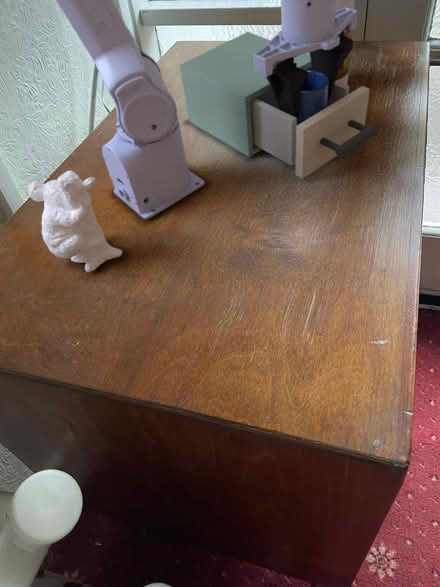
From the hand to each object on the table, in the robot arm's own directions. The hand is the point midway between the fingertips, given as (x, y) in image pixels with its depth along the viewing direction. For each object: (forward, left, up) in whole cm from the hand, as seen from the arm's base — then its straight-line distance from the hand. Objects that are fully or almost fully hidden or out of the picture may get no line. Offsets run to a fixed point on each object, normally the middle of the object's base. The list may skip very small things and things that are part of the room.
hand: (304, 109), depth 58 cm
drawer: (0, -1, -5) cm, 5 cm away
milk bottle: (+13, +9, -6) cm, 17 cm away
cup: (0, 0, -1) cm, 1 cm away
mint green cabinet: (0, +11, -6) cm, 12 cm away
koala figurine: (-31, +4, -6) cm, 32 cm away
